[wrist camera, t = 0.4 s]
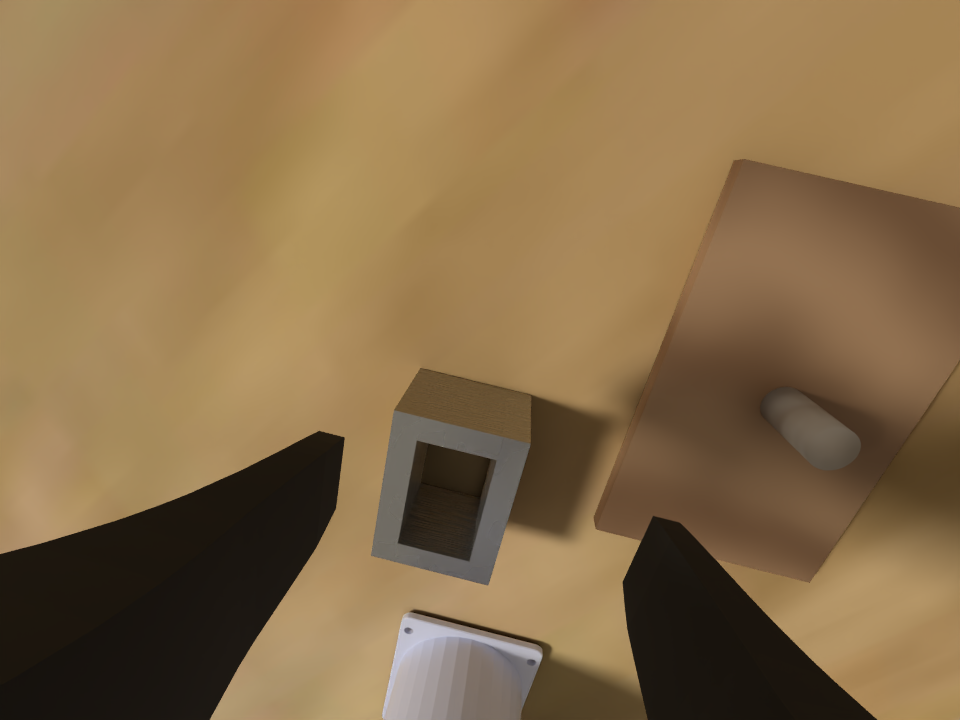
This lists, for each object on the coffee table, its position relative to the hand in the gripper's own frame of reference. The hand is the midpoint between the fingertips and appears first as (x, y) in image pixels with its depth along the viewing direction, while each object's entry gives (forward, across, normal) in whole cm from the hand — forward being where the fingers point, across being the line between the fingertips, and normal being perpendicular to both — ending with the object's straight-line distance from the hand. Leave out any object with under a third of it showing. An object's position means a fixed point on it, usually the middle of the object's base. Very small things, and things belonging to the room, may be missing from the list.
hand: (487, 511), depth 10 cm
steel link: (+10, +1, +5) cm, 11 cm away
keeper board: (+10, -11, -1) cm, 14 cm away
